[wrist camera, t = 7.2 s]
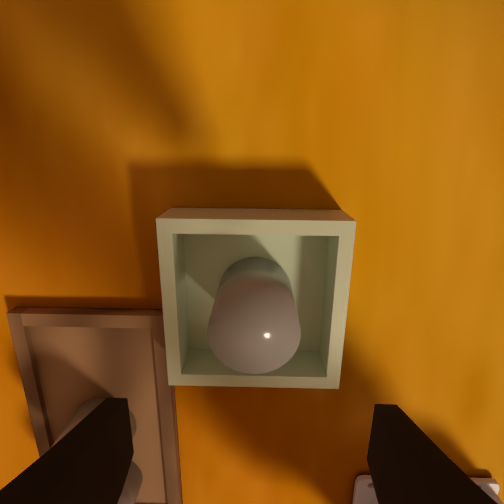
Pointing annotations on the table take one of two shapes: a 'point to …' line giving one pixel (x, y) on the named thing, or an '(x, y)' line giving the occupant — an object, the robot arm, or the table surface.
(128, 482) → the stone back
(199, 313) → the bin
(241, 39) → the table surface
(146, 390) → the shallow brown tray
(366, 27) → the table surface
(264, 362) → the stone front
